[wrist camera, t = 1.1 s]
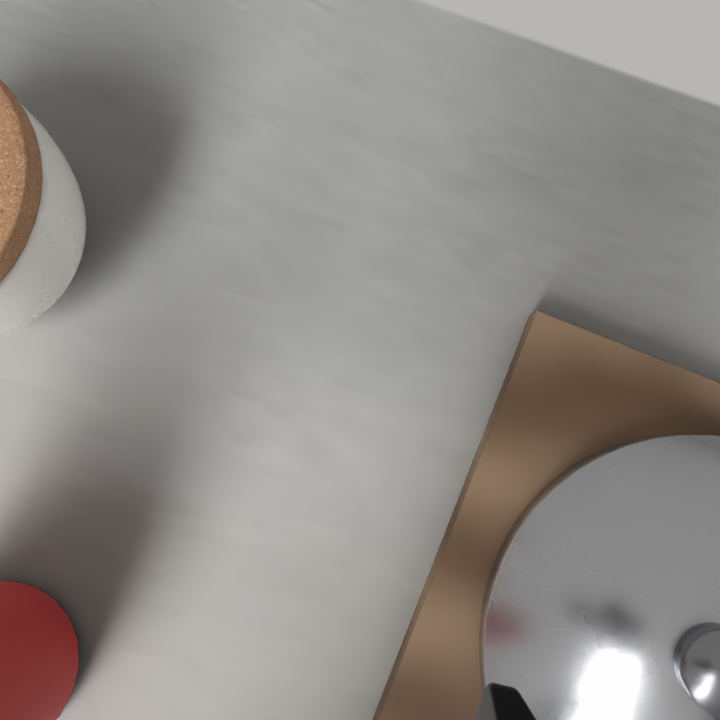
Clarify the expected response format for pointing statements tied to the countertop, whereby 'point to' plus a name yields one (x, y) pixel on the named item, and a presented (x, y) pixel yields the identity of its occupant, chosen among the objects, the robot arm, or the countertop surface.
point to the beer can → (34, 654)
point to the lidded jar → (34, 217)
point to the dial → (613, 588)
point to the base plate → (530, 488)
